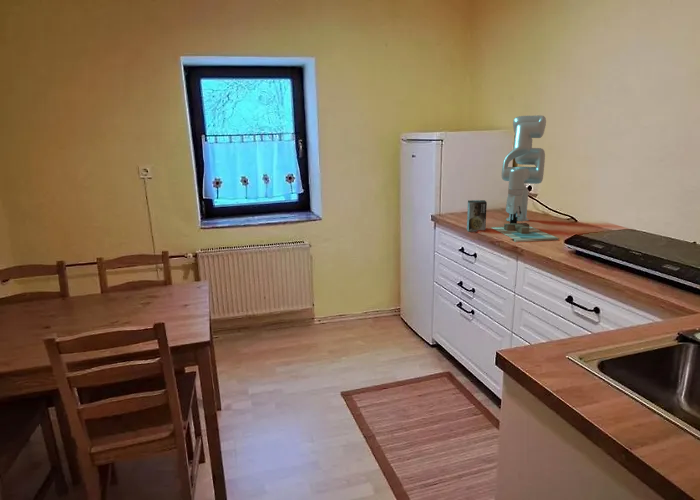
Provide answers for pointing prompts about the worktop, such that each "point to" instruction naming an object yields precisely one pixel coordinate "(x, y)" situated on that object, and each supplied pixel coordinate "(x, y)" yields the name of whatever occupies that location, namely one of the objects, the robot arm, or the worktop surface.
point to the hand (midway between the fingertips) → (513, 226)
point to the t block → (517, 227)
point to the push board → (526, 235)
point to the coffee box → (476, 215)
